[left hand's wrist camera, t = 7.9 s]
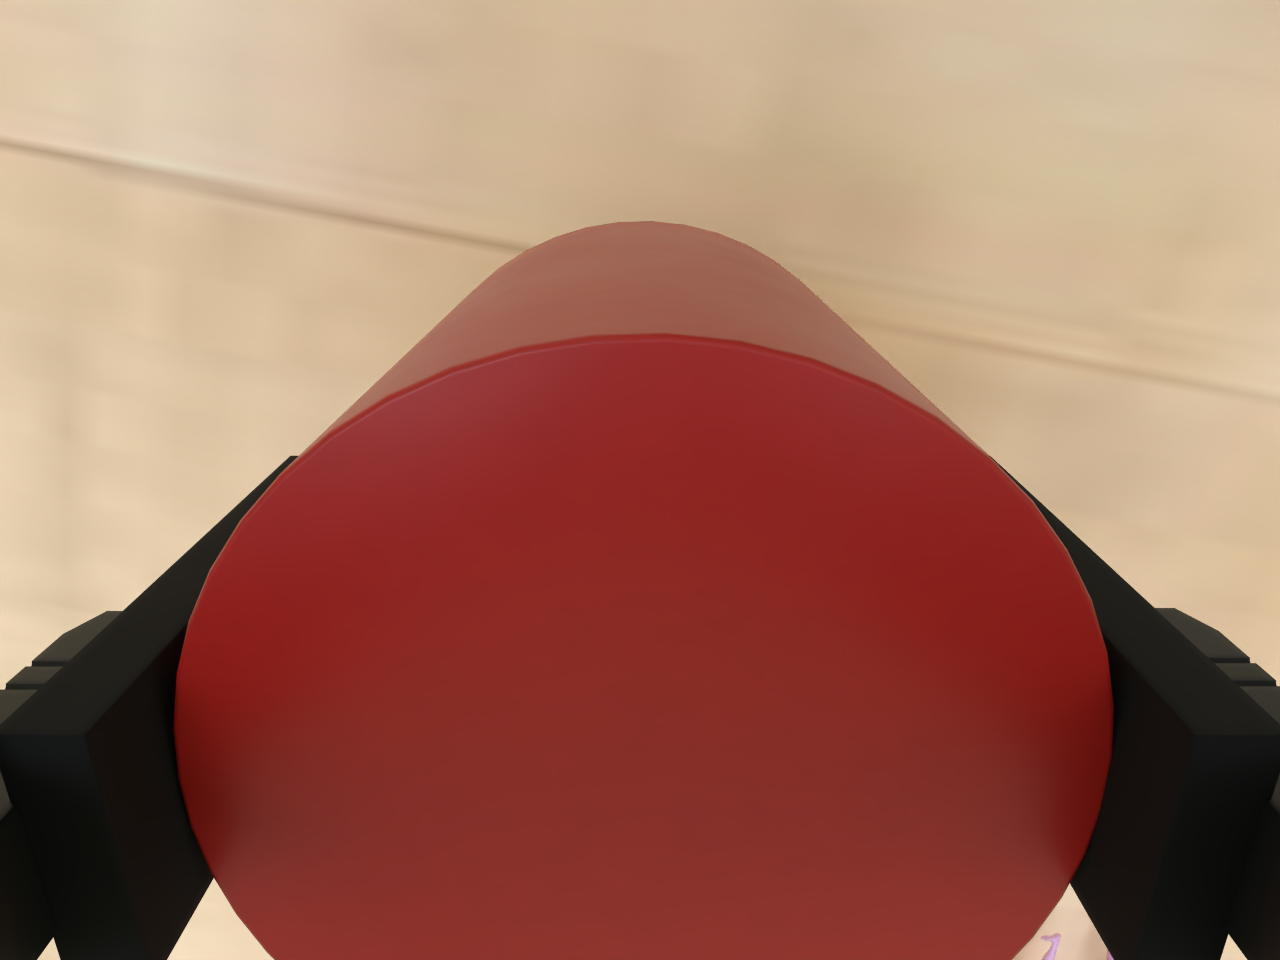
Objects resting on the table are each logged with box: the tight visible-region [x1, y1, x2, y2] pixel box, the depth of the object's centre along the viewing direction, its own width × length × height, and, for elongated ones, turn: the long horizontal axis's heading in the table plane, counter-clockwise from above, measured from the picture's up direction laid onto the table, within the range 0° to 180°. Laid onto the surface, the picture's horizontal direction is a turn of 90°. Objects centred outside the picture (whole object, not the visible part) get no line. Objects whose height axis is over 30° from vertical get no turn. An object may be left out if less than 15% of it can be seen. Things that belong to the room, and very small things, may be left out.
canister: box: [173, 221, 1114, 960], centre depth 13 cm, size 9×9×9 cm
